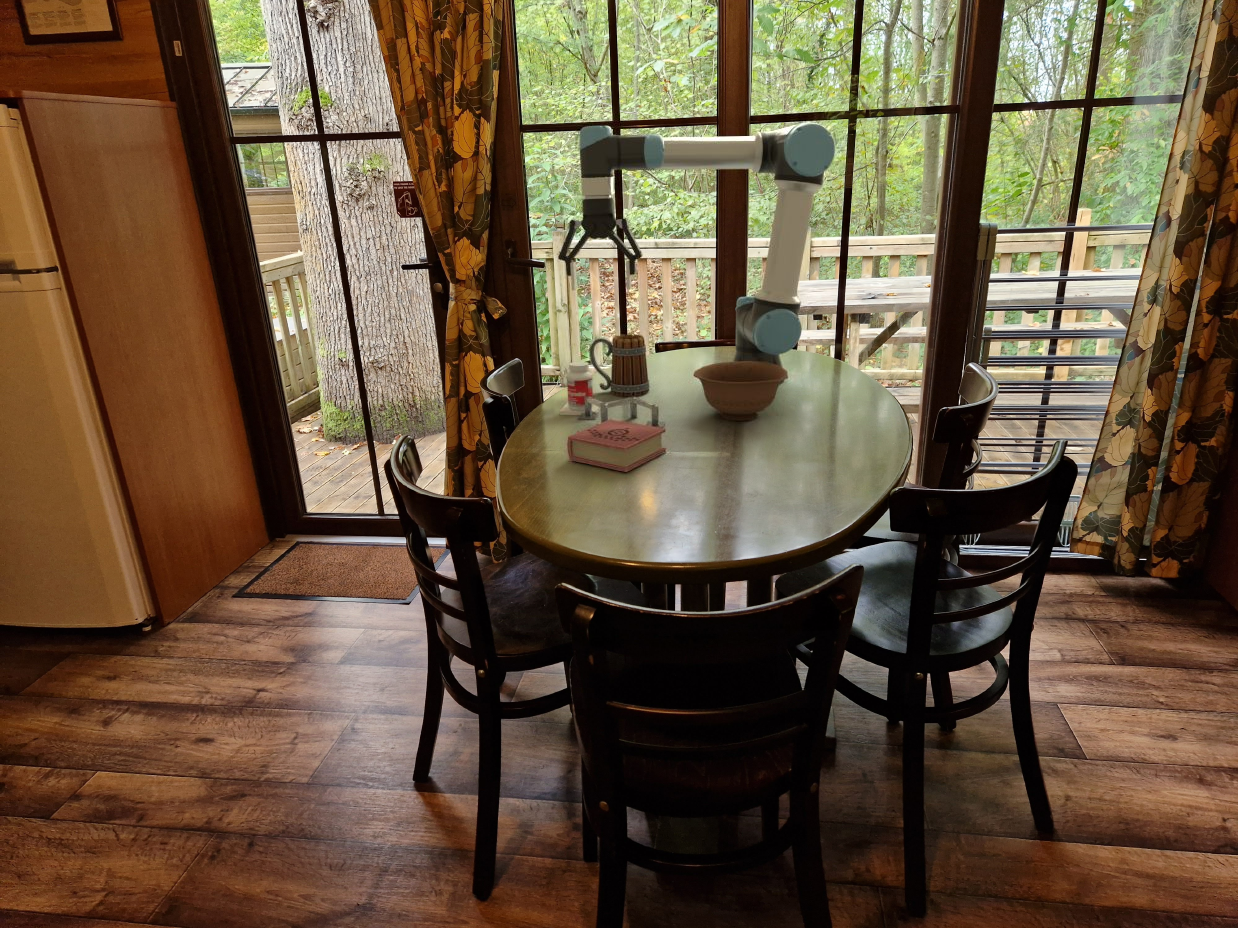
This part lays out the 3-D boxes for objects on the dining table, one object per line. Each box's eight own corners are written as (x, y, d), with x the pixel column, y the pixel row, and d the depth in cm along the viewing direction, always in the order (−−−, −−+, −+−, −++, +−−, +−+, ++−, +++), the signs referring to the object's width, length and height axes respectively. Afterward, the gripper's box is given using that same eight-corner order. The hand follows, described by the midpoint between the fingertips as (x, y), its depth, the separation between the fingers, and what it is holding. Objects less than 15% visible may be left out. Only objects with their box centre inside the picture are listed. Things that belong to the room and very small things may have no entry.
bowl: (804, 412, 187) (806, 367, 183) (752, 435, 172) (753, 386, 168) (728, 398, 201) (729, 356, 198) (674, 418, 186) (673, 373, 183)
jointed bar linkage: (667, 415, 188) (667, 395, 187) (663, 429, 178) (662, 407, 177) (582, 414, 192) (581, 394, 190) (572, 427, 182) (571, 407, 180)
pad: (602, 405, 199) (602, 401, 199) (596, 415, 191) (595, 411, 190) (568, 405, 201) (567, 401, 200) (559, 415, 192) (559, 411, 192)
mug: (650, 387, 215) (649, 333, 210) (648, 397, 206) (647, 340, 201) (594, 388, 217) (592, 334, 212) (589, 397, 207) (586, 341, 202)
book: (607, 440, 173) (607, 418, 172) (666, 451, 165) (665, 428, 163) (566, 459, 162) (564, 436, 161) (626, 471, 154) (625, 447, 152)
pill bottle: (564, 409, 193) (561, 365, 189) (575, 403, 198) (573, 360, 194) (586, 411, 190) (584, 367, 187) (597, 405, 196) (595, 361, 192)
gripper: (652, 195, 186) (654, 286, 193) (550, 199, 190) (555, 288, 197) (648, 196, 179) (650, 290, 186) (542, 199, 183) (548, 292, 190)
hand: (601, 289), depth 192 cm, fingers open, 13 cm apart
